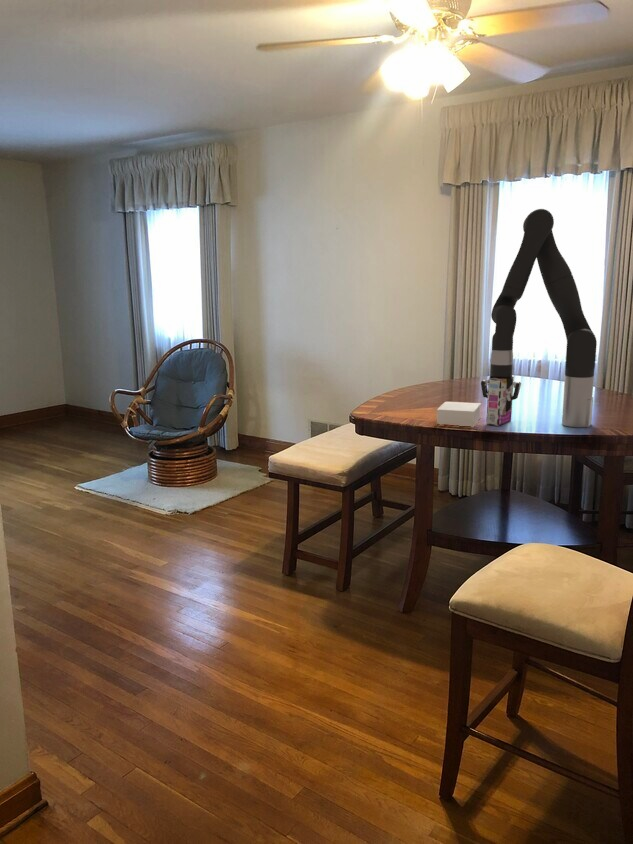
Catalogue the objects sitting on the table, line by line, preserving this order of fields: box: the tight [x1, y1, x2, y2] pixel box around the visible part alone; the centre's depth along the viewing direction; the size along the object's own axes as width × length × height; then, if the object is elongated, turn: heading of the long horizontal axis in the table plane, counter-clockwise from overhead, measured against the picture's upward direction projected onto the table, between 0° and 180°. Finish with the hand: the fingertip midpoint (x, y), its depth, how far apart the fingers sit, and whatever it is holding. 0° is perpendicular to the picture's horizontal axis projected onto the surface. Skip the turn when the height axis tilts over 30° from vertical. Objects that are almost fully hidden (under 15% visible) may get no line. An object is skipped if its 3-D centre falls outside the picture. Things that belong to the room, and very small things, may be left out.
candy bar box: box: [485, 375, 515, 427], centre depth 232 cm, size 11×5×16 cm, turn 141°
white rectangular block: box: [436, 401, 482, 428], centre depth 236 cm, size 13×15×6 cm
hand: (499, 409), depth 232 cm, fingers closed on candy bar box, 5 cm apart
